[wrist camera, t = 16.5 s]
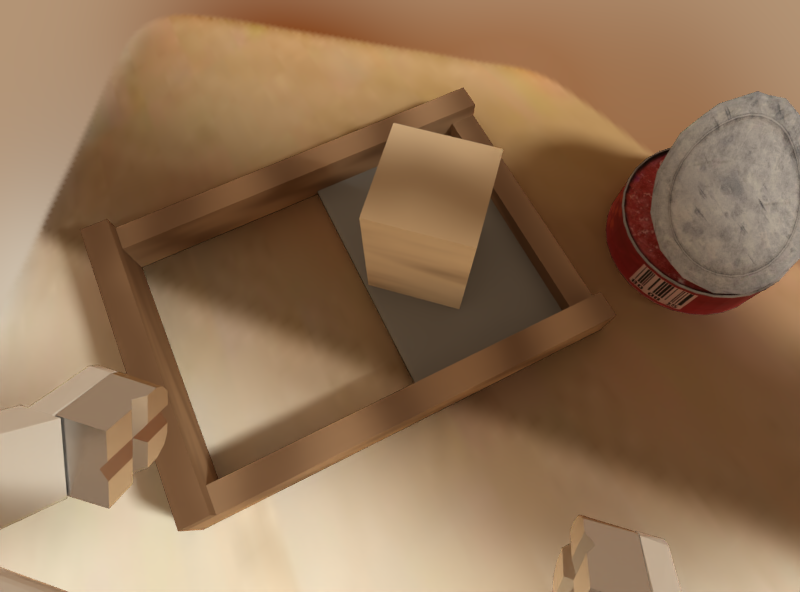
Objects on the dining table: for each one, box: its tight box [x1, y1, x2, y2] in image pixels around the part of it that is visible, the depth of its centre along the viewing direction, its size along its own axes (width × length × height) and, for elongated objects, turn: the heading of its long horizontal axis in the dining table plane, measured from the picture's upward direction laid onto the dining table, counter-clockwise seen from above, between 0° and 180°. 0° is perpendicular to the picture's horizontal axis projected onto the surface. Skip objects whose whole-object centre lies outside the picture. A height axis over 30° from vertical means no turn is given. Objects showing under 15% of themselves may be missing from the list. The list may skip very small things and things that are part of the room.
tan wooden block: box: [359, 123, 503, 309], centre depth 30 cm, size 6×6×8 cm
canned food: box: [606, 91, 800, 315], centre depth 32 cm, size 11×10×10 cm
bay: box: [80, 88, 616, 531], centre depth 32 cm, size 24×17×4 cm
